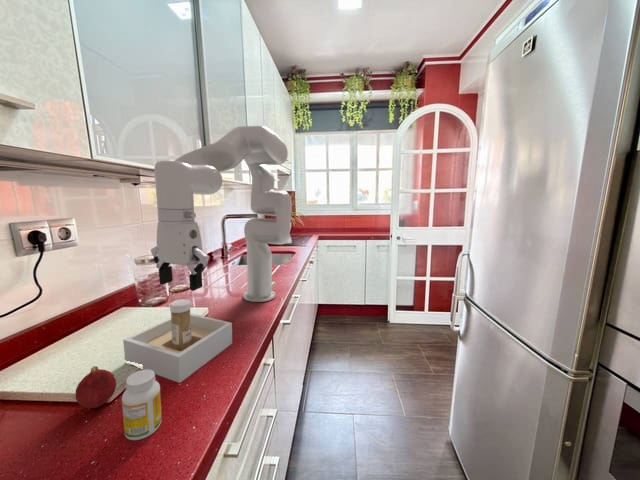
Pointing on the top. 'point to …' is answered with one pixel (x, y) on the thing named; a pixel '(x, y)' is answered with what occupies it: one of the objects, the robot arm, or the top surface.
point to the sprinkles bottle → (181, 324)
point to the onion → (95, 388)
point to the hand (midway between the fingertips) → (181, 285)
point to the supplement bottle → (141, 405)
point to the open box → (172, 364)
